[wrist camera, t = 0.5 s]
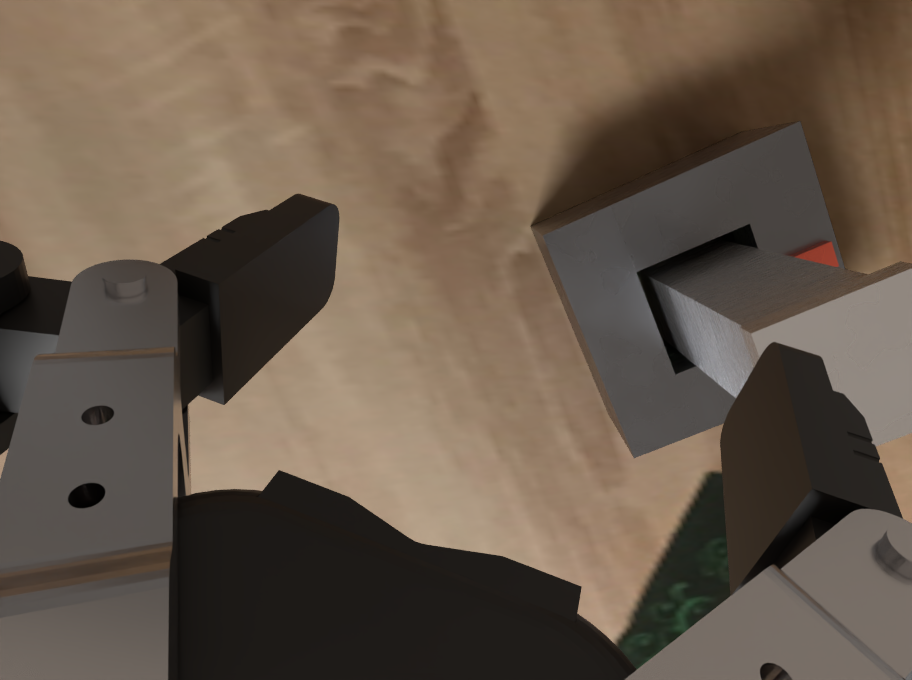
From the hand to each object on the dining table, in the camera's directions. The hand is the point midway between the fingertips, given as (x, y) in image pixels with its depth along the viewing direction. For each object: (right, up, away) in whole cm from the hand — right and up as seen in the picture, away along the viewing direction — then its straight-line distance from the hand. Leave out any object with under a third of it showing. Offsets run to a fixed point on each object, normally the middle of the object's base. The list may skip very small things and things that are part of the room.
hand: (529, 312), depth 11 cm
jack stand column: (+11, +3, +23) cm, 26 cm away
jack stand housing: (+11, +3, +23) cm, 26 cm away
